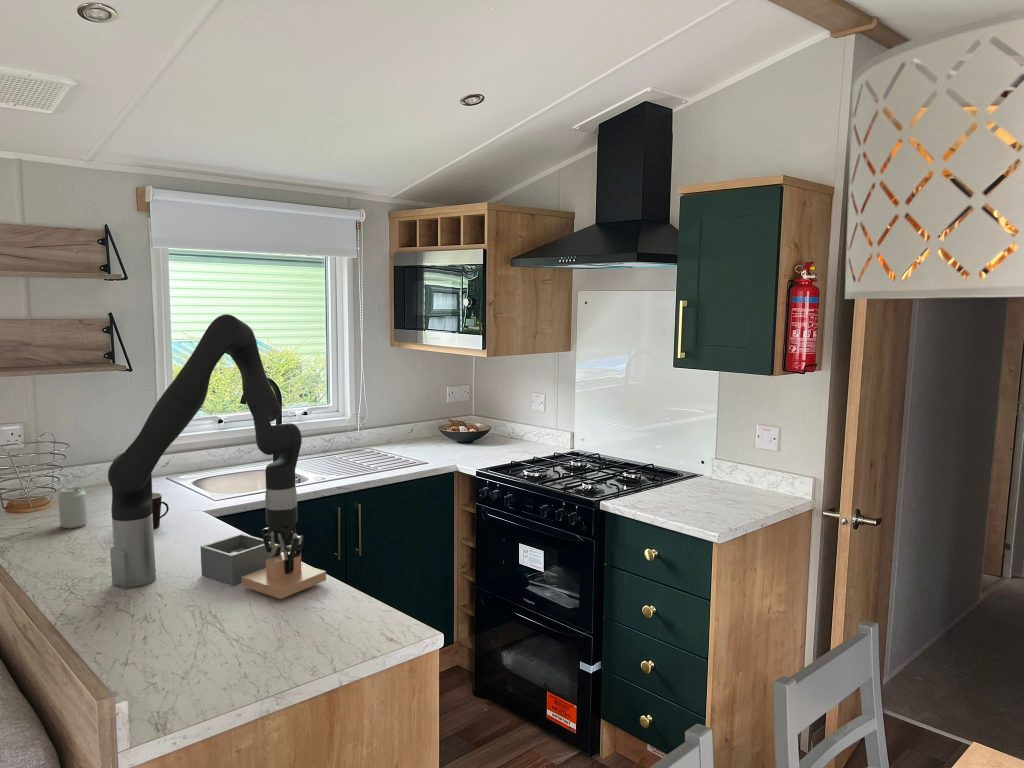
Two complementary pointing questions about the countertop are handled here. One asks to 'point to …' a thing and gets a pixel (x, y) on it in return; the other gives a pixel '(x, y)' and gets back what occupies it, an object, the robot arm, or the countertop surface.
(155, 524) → the coffee mug
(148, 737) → the countertop surface
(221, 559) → the storage box
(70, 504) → the can
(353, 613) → the countertop surface
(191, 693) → the countertop surface
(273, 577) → the lid
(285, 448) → the robot arm
